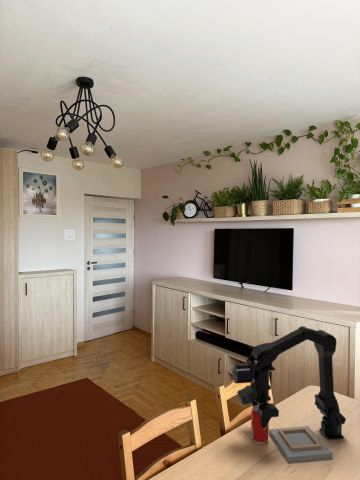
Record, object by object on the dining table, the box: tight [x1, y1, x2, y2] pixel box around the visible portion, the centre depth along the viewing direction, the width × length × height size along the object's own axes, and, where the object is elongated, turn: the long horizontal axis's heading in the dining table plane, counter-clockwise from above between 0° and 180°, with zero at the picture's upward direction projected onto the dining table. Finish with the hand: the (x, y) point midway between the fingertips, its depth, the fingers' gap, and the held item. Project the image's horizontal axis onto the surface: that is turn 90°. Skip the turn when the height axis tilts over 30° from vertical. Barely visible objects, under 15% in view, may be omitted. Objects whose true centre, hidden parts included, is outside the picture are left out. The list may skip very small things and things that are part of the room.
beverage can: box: [250, 405, 270, 445], centre depth 127 cm, size 6×6×12 cm
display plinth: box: [268, 425, 333, 464], centre depth 124 cm, size 16×16×3 cm
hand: (259, 422), depth 127 cm, fingers closed on beverage can, 6 cm apart
